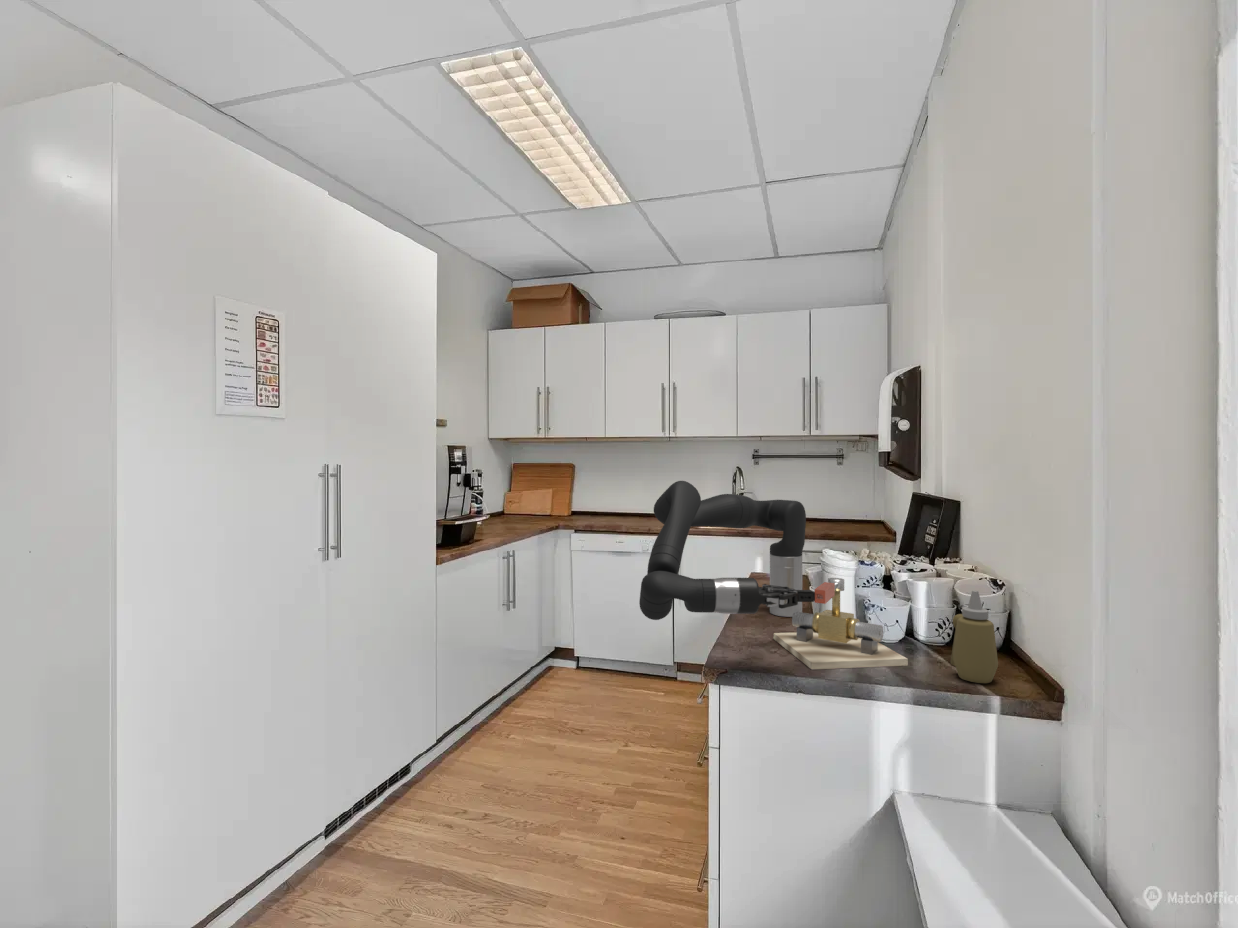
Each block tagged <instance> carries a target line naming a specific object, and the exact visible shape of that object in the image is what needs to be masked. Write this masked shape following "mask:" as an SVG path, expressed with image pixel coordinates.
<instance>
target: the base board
mask: <svg viewBox="0 0 1238 928" xmlns="http://www.w3.org/2000/svg"><path fill="white" fill-rule="evenodd" d="M861 639H862V638H858V640H852V639H851V640H850V641H849V642H847V643H842V642H837V641H831V640H826V639H821V638H818V633H814V631H813V638H812V639H811V640H809V641H807V642H803V641H798V640H797V631H795V632H792V631H791V632H774V633H773V641H775V642H776V643H778V644H779V645H780V646H782V648H784V649H785V650H786V651H788V652H789V653H790V654H791V655H792V656H794V657H795V658H796V659H798V660H799V661H800V662H801V663H802V664H804V665H805V666H807V667H808V668H809V669H811V670H833V669H835V670H836V669H855V668H856V669H858V668H879V667H880V668H881V667H907V666H909V663H908V662H909V659H908V657H905V656H904V655H902V654H900V653H898V652H896V651H894V649H891V648H890V647H887V646H886V645H884V644H882V643H881V642H878V650H877V651H876V652H875V653H874V654H873V655H870V654H865V653H861Z"/></svg>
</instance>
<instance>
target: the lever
mask: <svg viewBox="0 0 1238 928" xmlns="http://www.w3.org/2000/svg"><path fill="white" fill-rule="evenodd" d="M835 591H840V592H844V591H845V578H843V577H841V578H840V577H828V578H827V581H825V582H823V583H821V584H820V585H818V586H817V587H815V589H814V592H815V601H814V603H815V604H824V605H826V604H827V603H828V602H829V601H830V600H832V597H834V596H835Z"/></svg>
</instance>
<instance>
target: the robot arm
mask: <svg viewBox="0 0 1238 928" xmlns="http://www.w3.org/2000/svg"><path fill="white" fill-rule="evenodd" d="M653 514H654V516H655V518H656V519H657V520H658V521H659V522H660V523H661V524H663V525H662V528H661V530H660V531H659V533H658V534H657V537H656V538H655V541H654V543H653V545H652V548H651V552H650V555H649V559H648V563H647V571H646V572H647V574H645V576H643V578H642V580H641V582H640V583H641V584H640V591H639V609H640V611H641V613H642V614H643V615H644V616H645V617H646V618H647V619H649V620H654V621H659V620H663V619H664V618H666V617H667V616H669V614H670V612H671V611H672V608H673V603H674V600H675V599H676V600H679V601H682V602H683V603H684V608H685V609H686V610H687V611H688V612H690V613H708V614H709V613H714V614H716V613H717V614H723V615H725V614H726V615H727V614H728V615H729V614H731V615H733V614H734V615H735V614H738V615H742V614H743V615H751V614H753V615H754V614H757V613H758V611H759V609H760V606H761V605H765V607H767V608H769V613H770V614H771V615H775V616H779V617H788V618H789V617H790V618H792V616H793V613H794V612H795V611H796V612H802V613H803V603H813V602H814V603H815V591H813V590H811V589H803V550H804V547H805V543H806V542H805V541H806V526H807V525H806V523H807V514H806V509H805V506H804V504H803V503H801V501H799V500H793V499H792V500H788V499H769V500H768V499H767V500H756V499H753V498H751V497H749V496H746V495H741V494H734V493H724V494H718V495H714V496H710V497H708V498H705V499H702V498H701V494H700V492H699V491H698V489H697V488H696V487H695V486H694V485H693V484H692V483H690V482H688V481H685V480H677V481H675V482H673V483H672V484H671V485H670V486H668V487H667V488H666V489H665V491H663V493H662V494H661V495H660V496H659V497H658V499H656V501H655V503H654V506H653ZM753 526H755V527H761V528H764V529H765V528H766V529H768V530H774V531H776V532H777V531H779V532H782V539H780V540H778V541H777V542H774V543H772V544H770V545H769V584H767V583H764V584H761V585H762V586H760V585H759V583H758V581H757V580H756V579H755V577H718V578H717V577H716V578H692V577H689V576H685V575H683V574H682V575H681V574H679V572H680V567H681V562H682V558H683V554H684V549H685V545H686V541H687V539H688V535H689V533H690V530H691V528H692V527H709V528H710V527H715V528H718V527H719V528H728V529H729V528H730V529H746V528H747V529H748V528H750V527H753Z"/></svg>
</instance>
